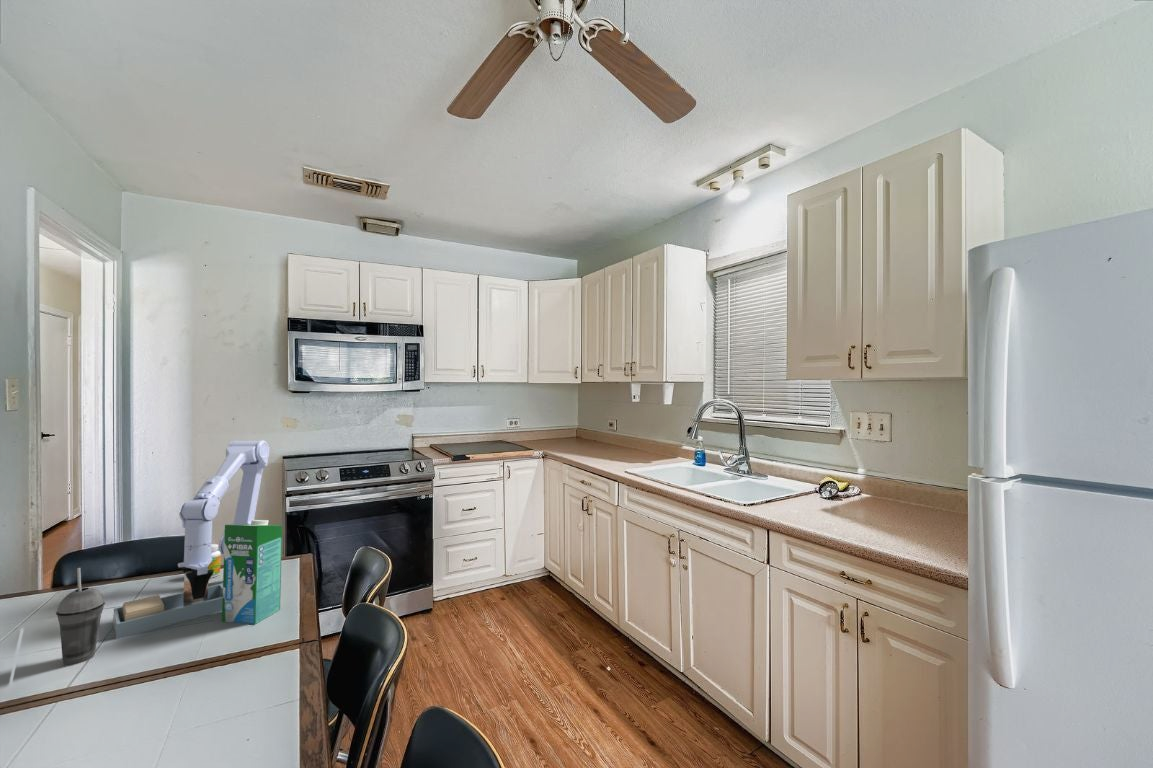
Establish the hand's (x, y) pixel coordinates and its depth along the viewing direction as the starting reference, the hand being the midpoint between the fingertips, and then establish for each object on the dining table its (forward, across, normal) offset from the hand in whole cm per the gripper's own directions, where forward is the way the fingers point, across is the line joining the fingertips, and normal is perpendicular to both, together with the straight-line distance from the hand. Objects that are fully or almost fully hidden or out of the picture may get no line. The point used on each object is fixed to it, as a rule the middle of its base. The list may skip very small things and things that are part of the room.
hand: (196, 595), depth 124 cm
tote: (+4, 0, -4) cm, 6 cm away
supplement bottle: (+5, -29, +8) cm, 30 cm away
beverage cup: (+5, +12, -22) cm, 25 cm away
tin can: (+3, 0, 0) cm, 3 cm away
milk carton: (+5, +14, +10) cm, 18 cm away
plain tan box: (+4, 0, -10) cm, 11 cm away
